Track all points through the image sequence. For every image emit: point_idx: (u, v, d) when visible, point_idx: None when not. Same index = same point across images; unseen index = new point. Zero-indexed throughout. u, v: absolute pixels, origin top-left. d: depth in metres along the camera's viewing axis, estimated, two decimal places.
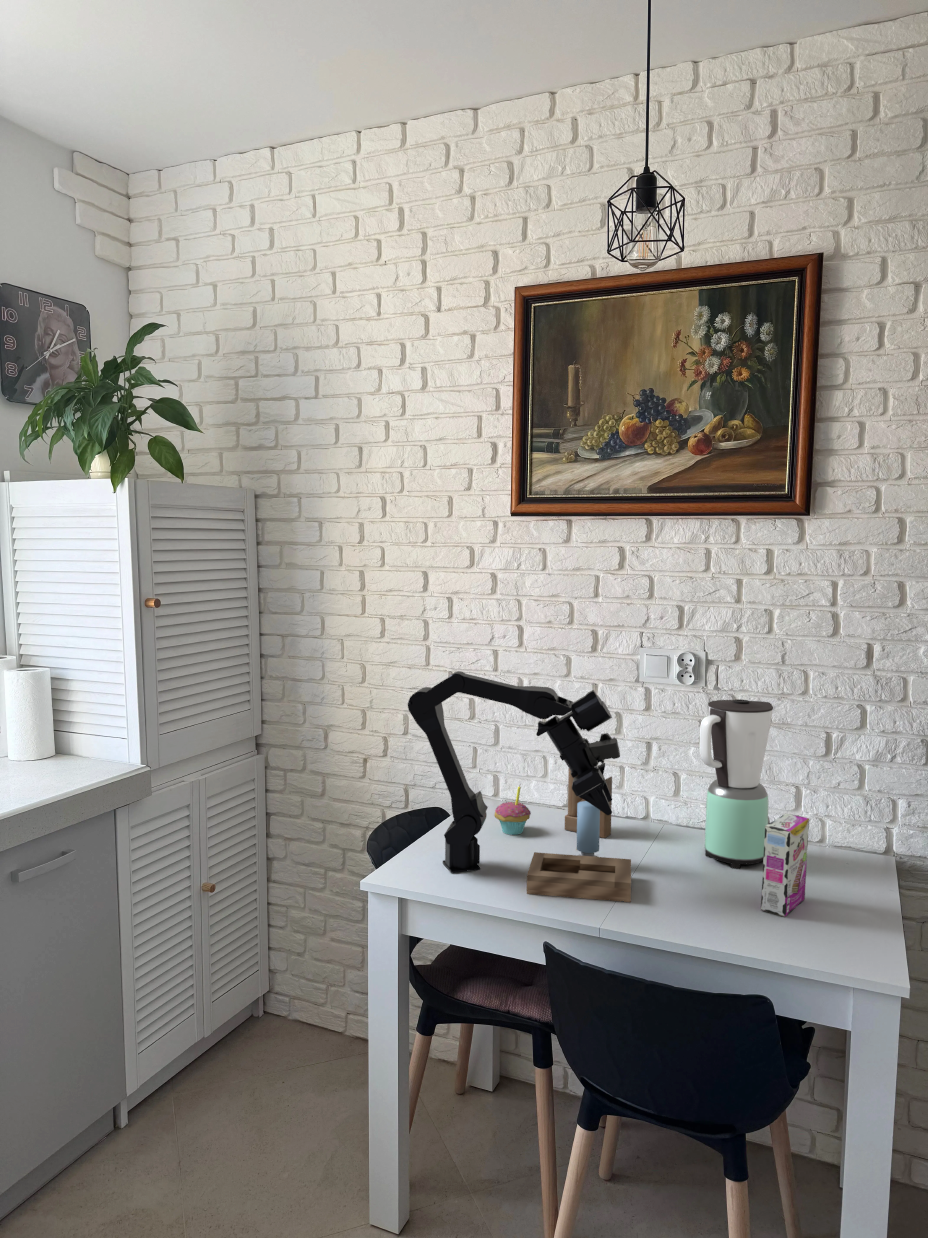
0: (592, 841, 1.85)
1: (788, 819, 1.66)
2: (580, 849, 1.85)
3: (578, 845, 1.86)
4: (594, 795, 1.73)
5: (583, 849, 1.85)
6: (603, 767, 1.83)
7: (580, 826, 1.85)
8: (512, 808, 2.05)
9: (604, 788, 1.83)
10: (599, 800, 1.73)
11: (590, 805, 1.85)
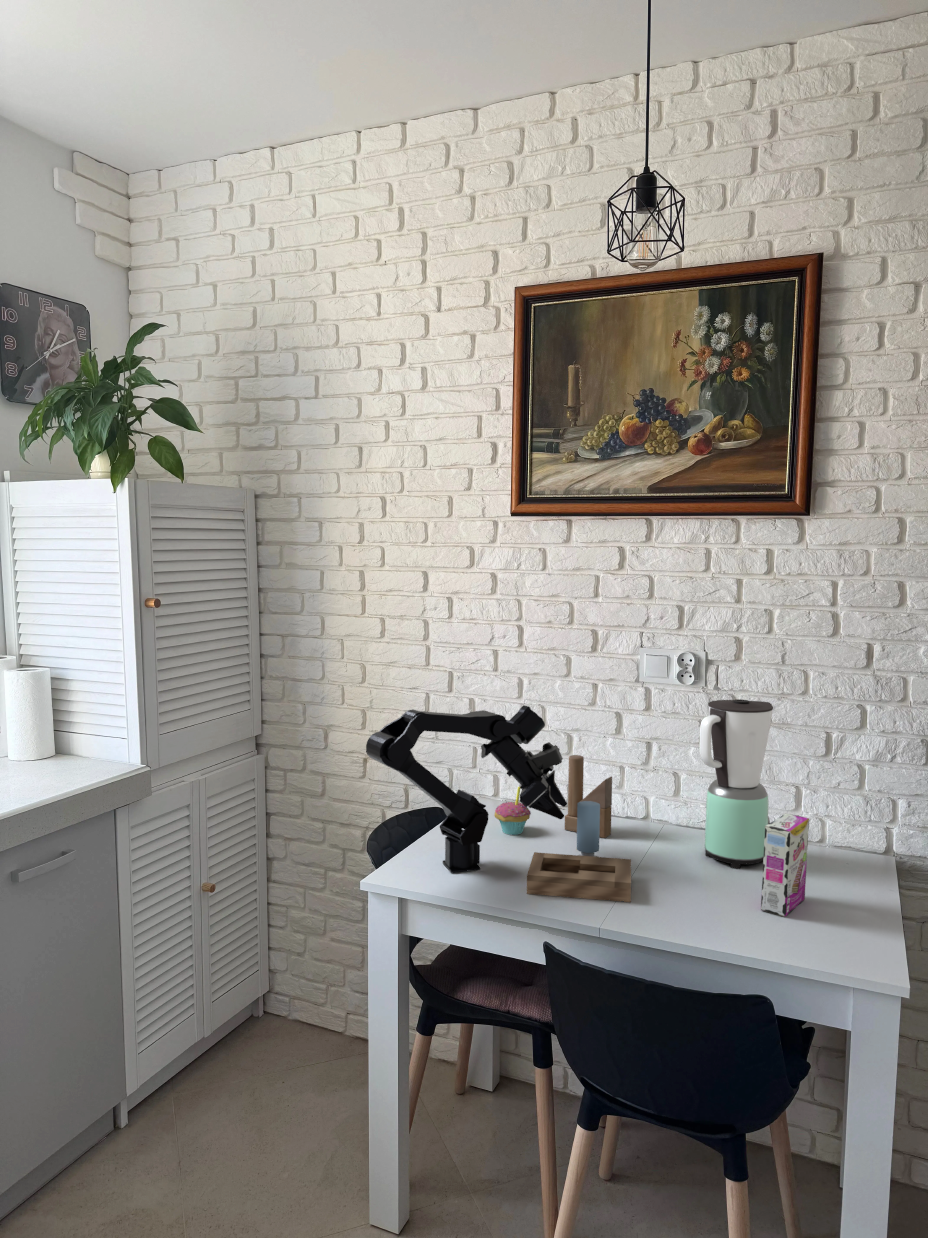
0: (592, 841, 1.85)
1: (788, 819, 1.66)
2: (580, 849, 1.85)
3: (578, 845, 1.86)
4: (543, 803, 1.82)
5: (583, 849, 1.85)
6: (552, 775, 1.93)
7: (580, 826, 1.85)
8: (512, 807, 2.05)
9: (557, 794, 1.92)
10: (549, 807, 1.82)
11: (590, 805, 1.85)
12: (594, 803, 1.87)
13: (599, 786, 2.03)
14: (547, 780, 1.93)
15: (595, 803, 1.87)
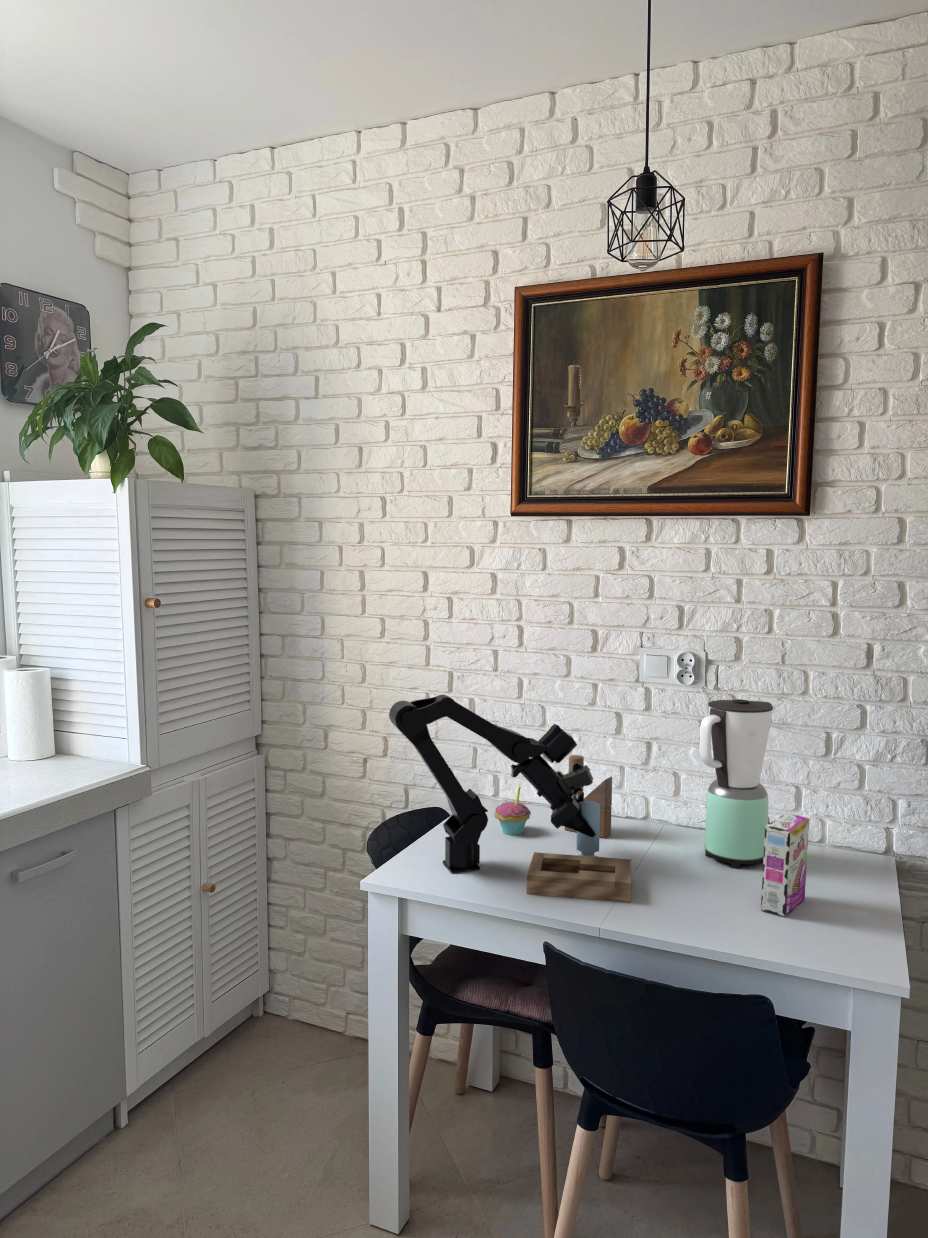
0: (592, 841, 1.85)
1: (788, 819, 1.66)
2: (580, 849, 1.85)
3: (578, 845, 1.86)
4: (575, 821, 1.83)
5: (583, 849, 1.85)
6: (582, 797, 1.90)
7: None
8: (512, 807, 2.05)
9: None
10: (581, 825, 1.83)
11: (590, 805, 1.85)
12: (594, 803, 1.87)
13: (599, 786, 2.03)
14: (576, 802, 1.90)
15: (595, 803, 1.87)
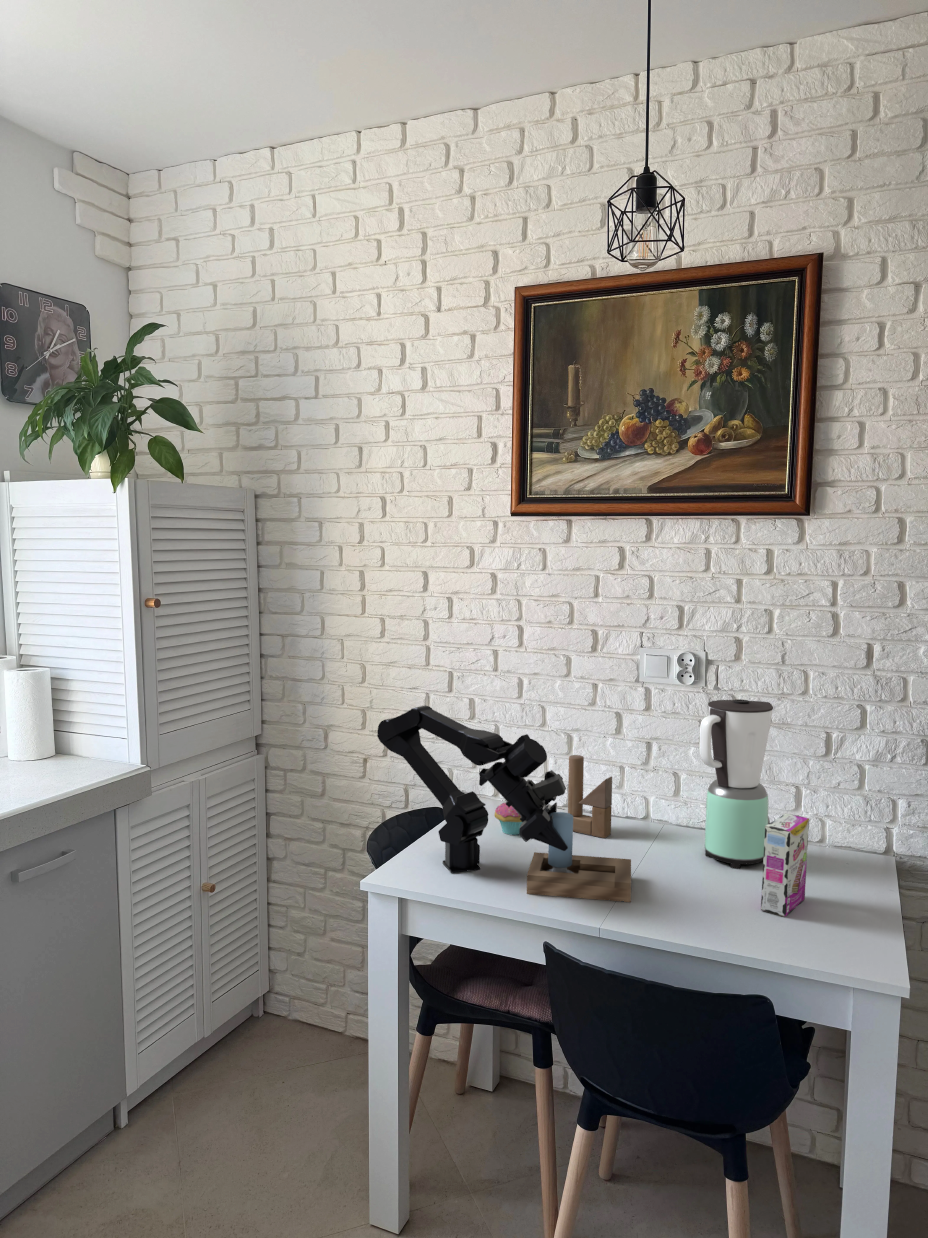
0: (564, 855, 1.73)
1: (788, 819, 1.66)
2: (551, 863, 1.74)
3: (549, 859, 1.74)
4: (546, 833, 1.72)
5: (555, 863, 1.73)
6: (554, 807, 1.78)
7: None
8: (512, 808, 2.05)
9: None
10: (552, 838, 1.72)
11: (563, 816, 1.74)
12: (567, 814, 1.75)
13: (599, 786, 2.03)
14: (548, 813, 1.78)
15: (568, 815, 1.75)
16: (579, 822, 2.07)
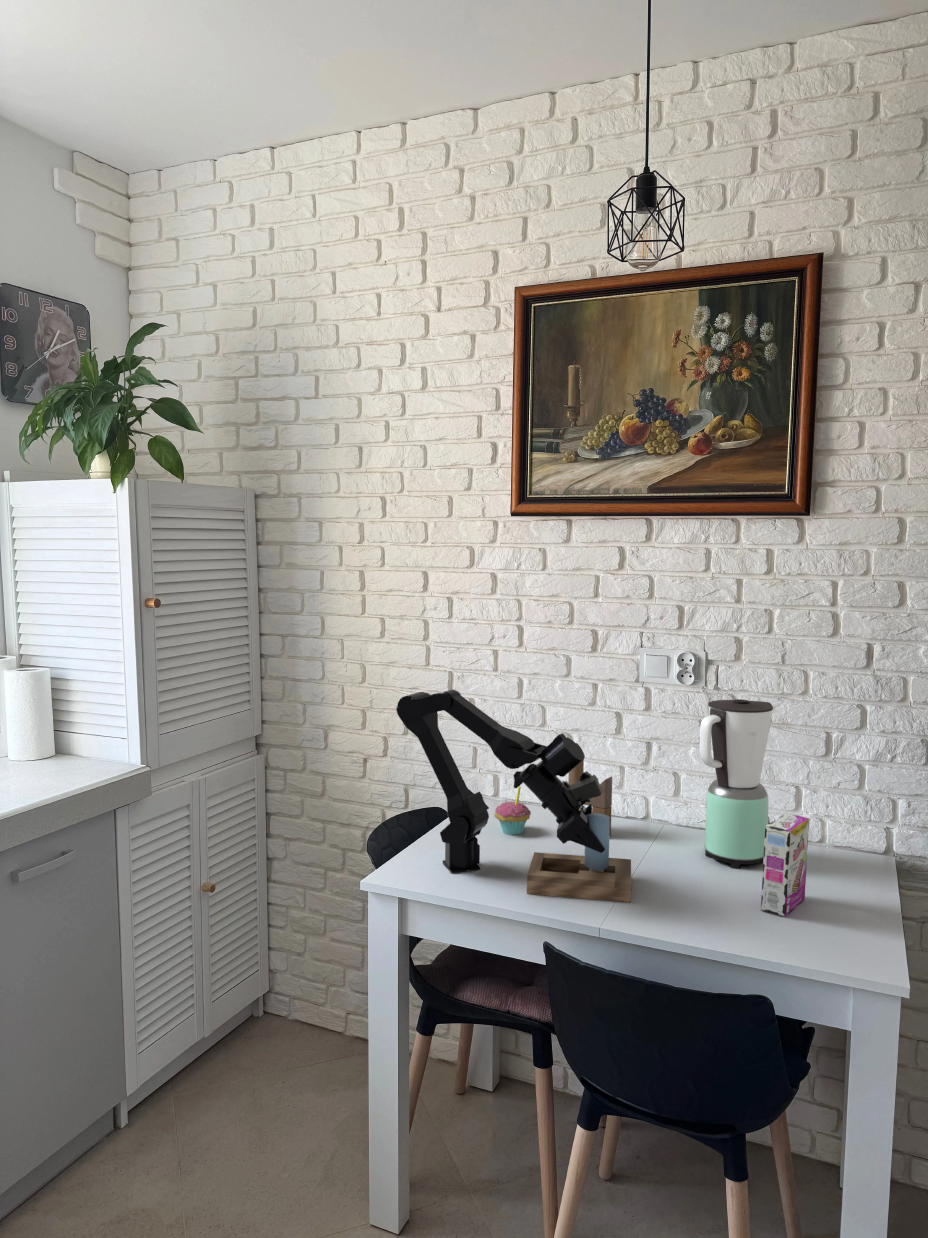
0: (601, 857, 1.72)
1: (788, 819, 1.66)
2: (588, 865, 1.72)
3: (586, 861, 1.73)
4: (583, 835, 1.70)
5: (591, 865, 1.72)
6: (590, 809, 1.77)
7: None
8: (512, 807, 2.05)
9: None
10: (589, 839, 1.70)
11: (599, 818, 1.73)
12: (603, 816, 1.74)
13: None
14: None
15: (604, 816, 1.74)
16: None
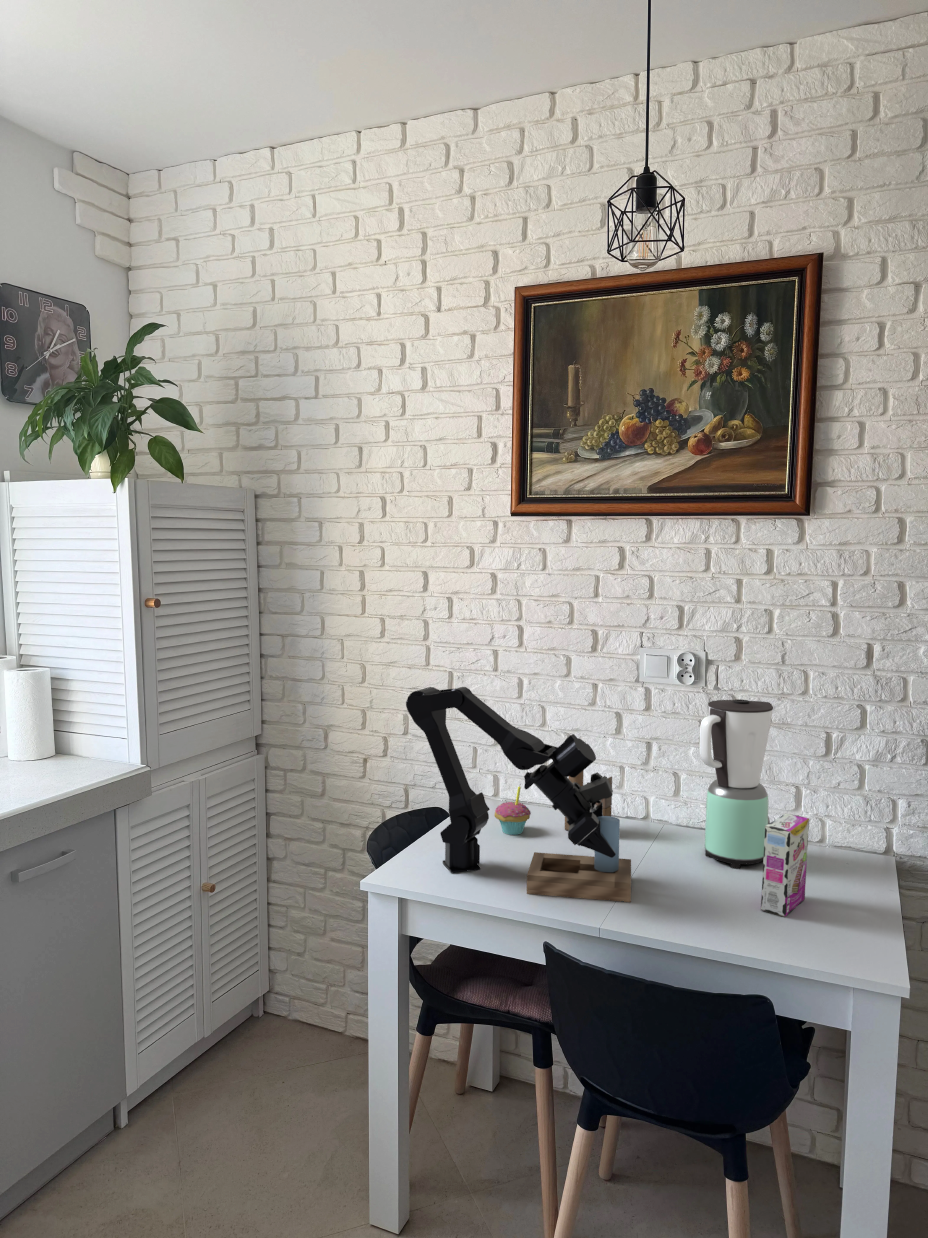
0: (611, 860, 1.71)
1: (788, 819, 1.66)
2: (598, 868, 1.72)
3: (596, 864, 1.73)
4: (593, 840, 1.68)
5: (602, 868, 1.72)
6: (601, 807, 1.78)
7: None
8: (512, 808, 2.05)
9: None
10: (599, 844, 1.68)
11: (609, 821, 1.72)
12: (613, 818, 1.74)
13: None
14: (595, 813, 1.79)
15: (614, 818, 1.74)
16: None
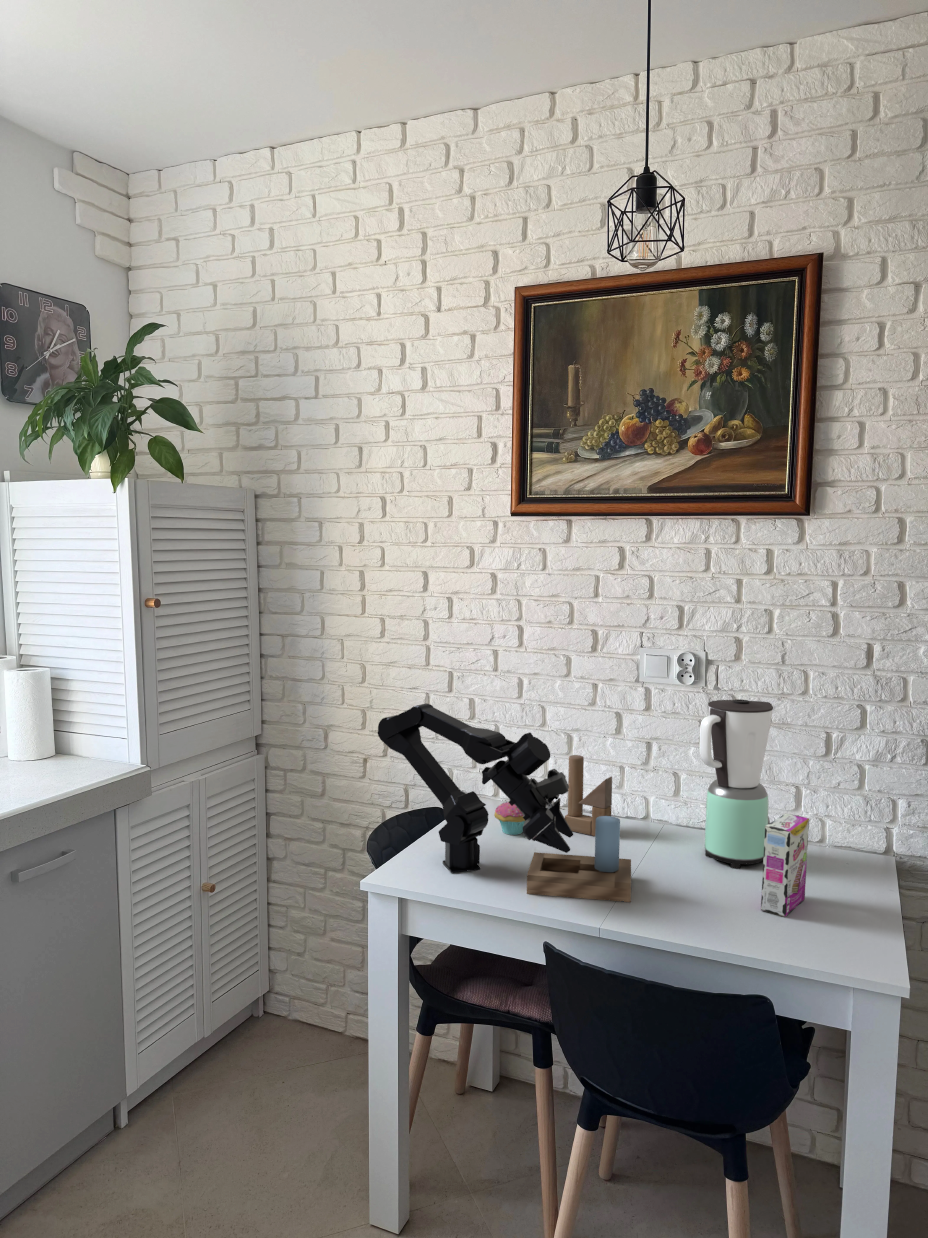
0: (611, 860, 1.71)
1: (788, 819, 1.66)
2: (598, 868, 1.72)
3: (596, 863, 1.73)
4: (548, 835, 1.70)
5: (602, 868, 1.72)
6: (558, 803, 1.80)
7: (599, 843, 1.72)
8: (512, 807, 2.05)
9: (563, 824, 1.80)
10: (554, 839, 1.70)
11: (609, 820, 1.72)
12: (614, 818, 1.74)
13: (599, 786, 2.03)
14: (552, 809, 1.80)
15: (615, 818, 1.74)
16: (579, 822, 2.07)
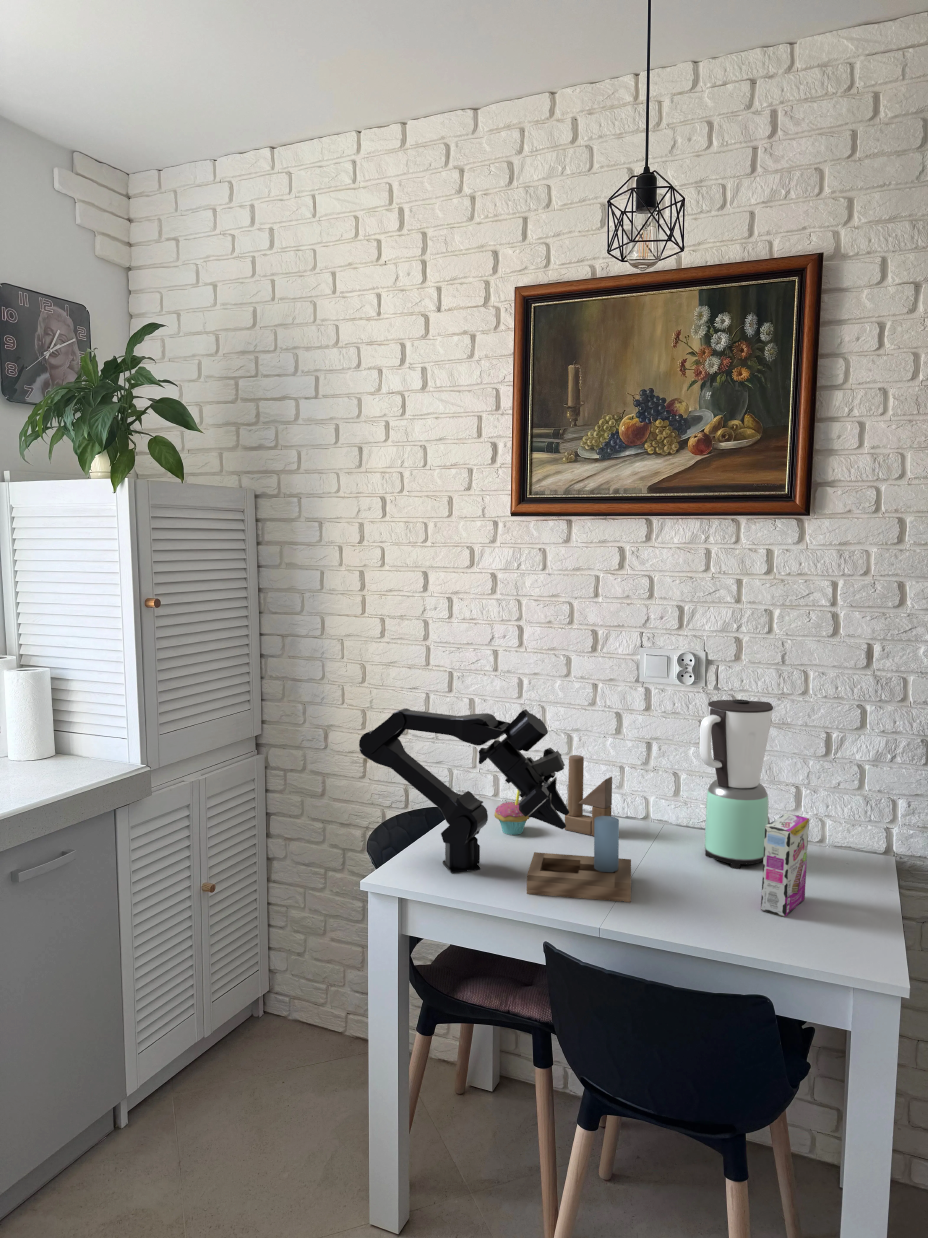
0: (610, 860, 1.71)
1: (788, 819, 1.66)
2: (598, 868, 1.72)
3: (596, 864, 1.73)
4: (544, 812, 1.73)
5: (601, 868, 1.72)
6: (554, 782, 1.83)
7: (598, 843, 1.72)
8: (512, 808, 2.05)
9: (559, 802, 1.82)
10: (550, 816, 1.72)
11: (608, 820, 1.72)
12: (612, 818, 1.74)
13: (599, 786, 2.03)
14: (548, 787, 1.83)
15: (613, 818, 1.74)
16: (579, 822, 2.07)
